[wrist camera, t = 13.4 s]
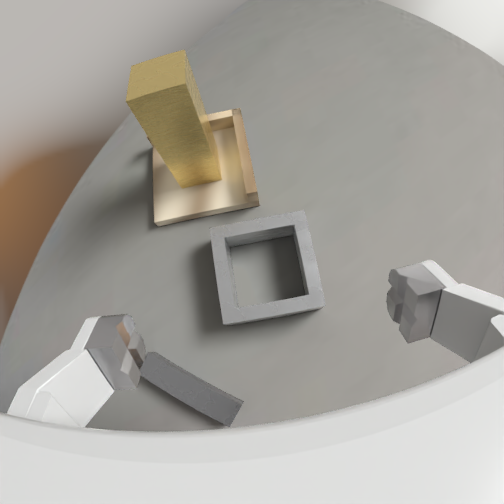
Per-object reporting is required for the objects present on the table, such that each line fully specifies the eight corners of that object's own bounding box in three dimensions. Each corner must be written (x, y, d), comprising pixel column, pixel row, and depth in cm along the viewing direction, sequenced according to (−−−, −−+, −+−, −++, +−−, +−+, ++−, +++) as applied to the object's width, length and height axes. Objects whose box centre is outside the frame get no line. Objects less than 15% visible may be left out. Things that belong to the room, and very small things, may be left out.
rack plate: (158, 226, 32) (146, 215, 29) (156, 145, 35) (147, 130, 32) (259, 205, 31) (257, 191, 28) (243, 125, 34) (240, 107, 31)
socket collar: (229, 325, 28) (223, 324, 25) (216, 237, 31) (209, 227, 28) (321, 308, 28) (325, 305, 25) (302, 221, 30) (304, 210, 27)
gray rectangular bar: (244, 400, 26) (241, 405, 24) (232, 421, 26) (229, 427, 24) (156, 351, 28) (148, 352, 26) (146, 371, 28) (138, 373, 26)
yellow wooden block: (181, 188, 31) (126, 101, 18) (179, 155, 32) (131, 66, 19) (222, 179, 31) (185, 83, 18) (217, 146, 32) (184, 49, 19)
